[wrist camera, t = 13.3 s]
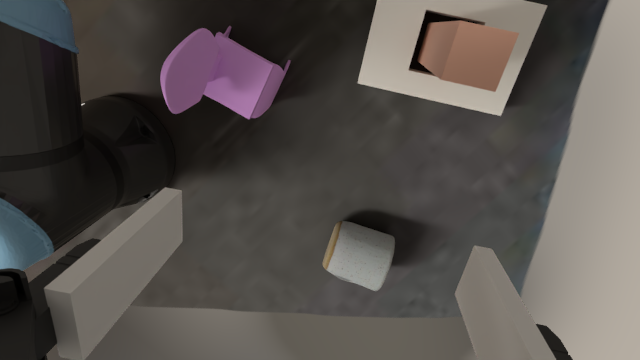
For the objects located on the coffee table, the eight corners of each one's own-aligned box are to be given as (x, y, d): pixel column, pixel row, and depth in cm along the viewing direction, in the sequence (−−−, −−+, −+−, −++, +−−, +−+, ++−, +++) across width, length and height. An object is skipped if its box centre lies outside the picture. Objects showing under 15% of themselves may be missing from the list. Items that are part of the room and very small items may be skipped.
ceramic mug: (338, 208, 49) (332, 239, 42) (395, 225, 49) (397, 259, 42) (319, 265, 54) (310, 301, 47) (370, 281, 54) (369, 320, 47)
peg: (416, 60, 40) (440, 79, 26) (428, 22, 38) (460, 20, 24) (451, 68, 40) (495, 91, 25) (464, 30, 38) (519, 33, 24)
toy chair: (270, 115, 45) (225, 153, 32) (208, 80, 45) (135, 104, 31) (298, 55, 42) (261, 68, 28) (232, 16, 41) (162, 12, 28)
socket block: (358, 79, 42) (357, 83, 39) (383, -25, 37) (384, -30, 34) (492, 110, 41) (500, 116, 38) (534, 7, 36) (547, 5, 34)
